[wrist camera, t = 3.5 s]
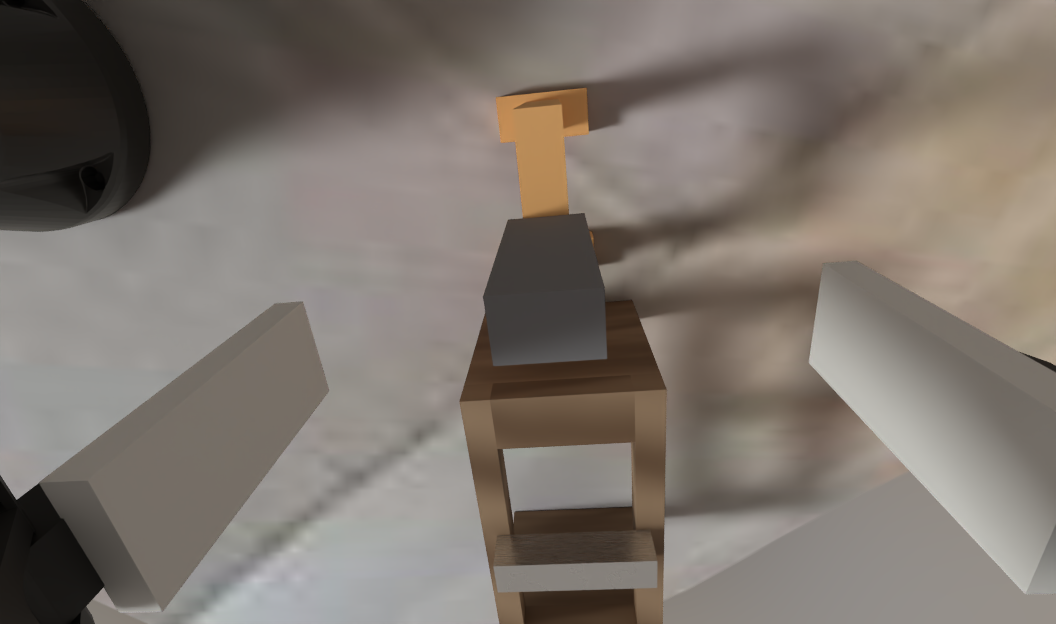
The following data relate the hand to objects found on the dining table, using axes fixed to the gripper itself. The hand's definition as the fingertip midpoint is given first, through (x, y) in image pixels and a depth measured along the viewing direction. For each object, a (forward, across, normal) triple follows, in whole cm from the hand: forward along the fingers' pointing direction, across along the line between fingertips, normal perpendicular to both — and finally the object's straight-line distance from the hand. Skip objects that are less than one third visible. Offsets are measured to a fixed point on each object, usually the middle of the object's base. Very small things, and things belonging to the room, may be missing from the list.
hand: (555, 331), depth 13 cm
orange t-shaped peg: (+20, 0, 0) cm, 20 cm away
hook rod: (+9, 0, -18) cm, 20 cm away
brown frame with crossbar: (+20, 0, -18) cm, 27 cm away
